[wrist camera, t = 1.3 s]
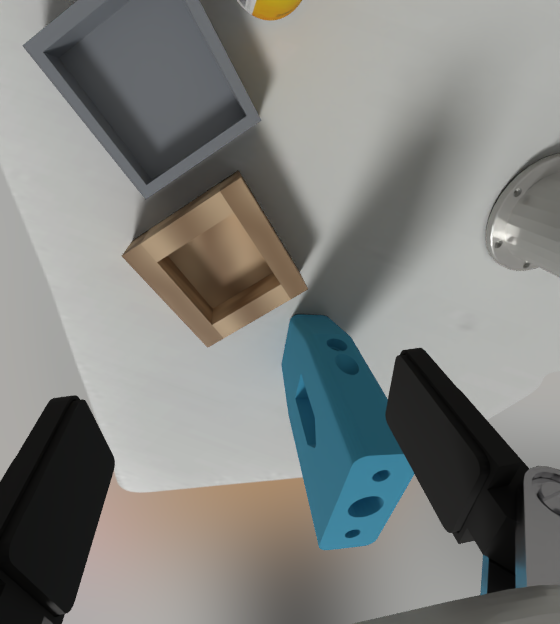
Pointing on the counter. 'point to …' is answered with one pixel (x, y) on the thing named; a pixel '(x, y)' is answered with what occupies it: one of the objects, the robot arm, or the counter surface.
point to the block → (341, 434)
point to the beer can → (269, 8)
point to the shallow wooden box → (217, 262)
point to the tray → (146, 83)
